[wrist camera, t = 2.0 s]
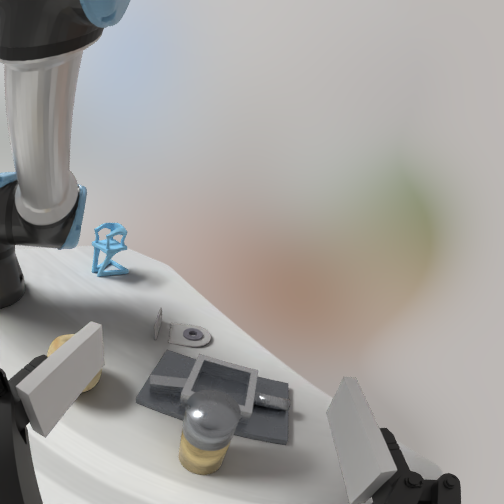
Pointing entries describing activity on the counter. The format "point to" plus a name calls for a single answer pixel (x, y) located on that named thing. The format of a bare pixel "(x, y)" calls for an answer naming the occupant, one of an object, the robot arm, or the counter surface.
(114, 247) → the chair
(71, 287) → the counter surface
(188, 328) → the bracket
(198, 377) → the coupling board
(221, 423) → the gold and grey cylinder
